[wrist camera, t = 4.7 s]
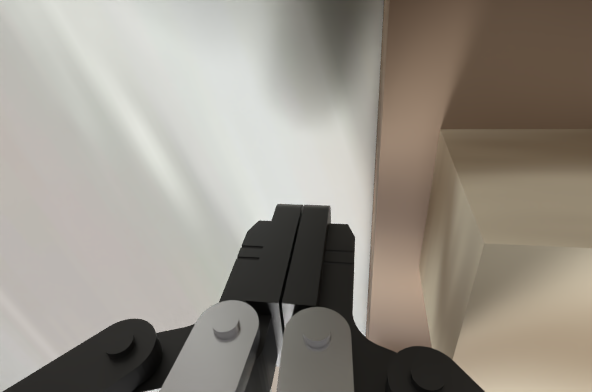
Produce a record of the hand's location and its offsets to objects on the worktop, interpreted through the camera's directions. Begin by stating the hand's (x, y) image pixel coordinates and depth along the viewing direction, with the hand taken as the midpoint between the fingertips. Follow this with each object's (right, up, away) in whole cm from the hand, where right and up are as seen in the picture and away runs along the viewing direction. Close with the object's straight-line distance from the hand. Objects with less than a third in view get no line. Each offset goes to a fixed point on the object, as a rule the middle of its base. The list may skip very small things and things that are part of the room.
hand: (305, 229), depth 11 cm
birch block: (+6, +1, 0) cm, 6 cm away
